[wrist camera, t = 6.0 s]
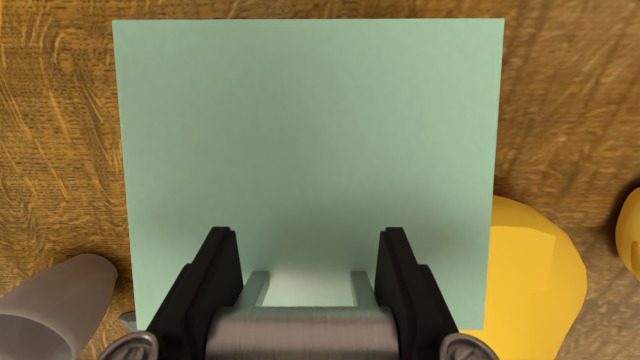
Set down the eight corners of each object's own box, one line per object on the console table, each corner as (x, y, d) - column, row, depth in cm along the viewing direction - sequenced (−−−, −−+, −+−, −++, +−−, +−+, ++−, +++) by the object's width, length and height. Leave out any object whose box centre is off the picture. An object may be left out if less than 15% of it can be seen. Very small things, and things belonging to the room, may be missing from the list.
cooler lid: (474, 319, 13) (585, 447, 8) (147, 319, 13) (22, 446, 8) (493, 26, 12) (648, -81, 6) (125, 27, 12) (-52, -78, 6)
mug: (112, 237, 34) (40, 308, 25) (144, 292, 38) (91, 370, 29) (15, 248, 34) (-87, 321, 26) (56, 302, 38) (-20, 380, 30)
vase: (399, 315, 39) (459, 534, 22) (324, 218, 32) (327, 426, 15) (540, 256, 35) (753, 475, 18) (487, 129, 28) (752, 285, 11)
